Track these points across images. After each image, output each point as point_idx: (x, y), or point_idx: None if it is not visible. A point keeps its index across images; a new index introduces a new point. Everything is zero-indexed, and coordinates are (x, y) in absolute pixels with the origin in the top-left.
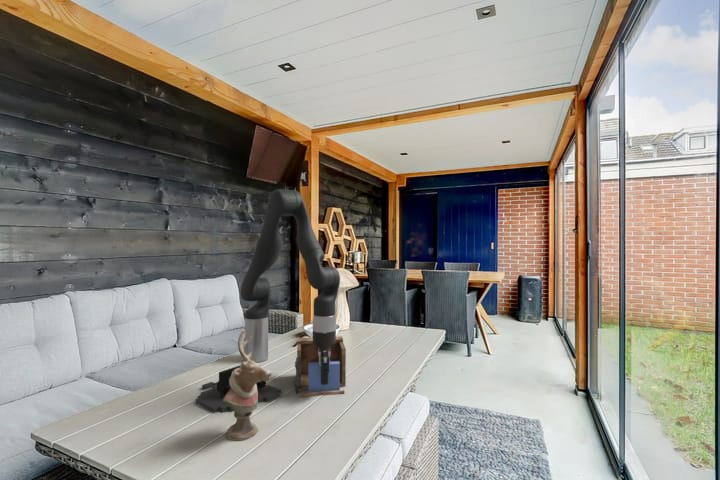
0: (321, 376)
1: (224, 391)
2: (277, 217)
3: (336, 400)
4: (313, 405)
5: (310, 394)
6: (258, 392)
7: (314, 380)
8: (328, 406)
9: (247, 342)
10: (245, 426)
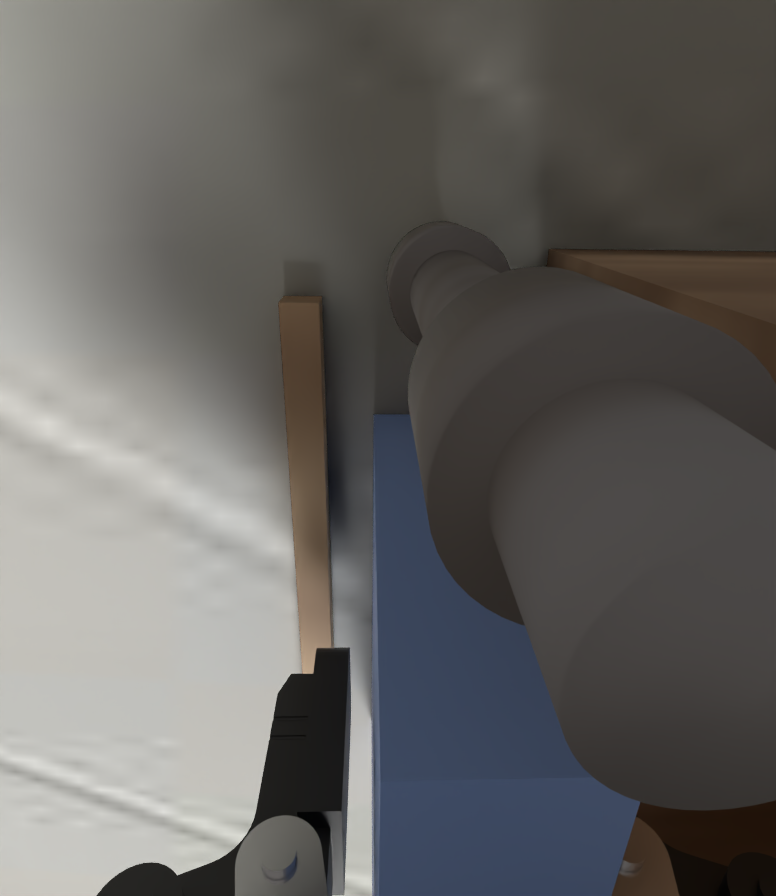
0: (306, 754)
1: None
2: None
3: (156, 683)
4: (14, 466)
5: (290, 445)
6: None
7: (374, 591)
8: (6, 611)
9: None
10: None
